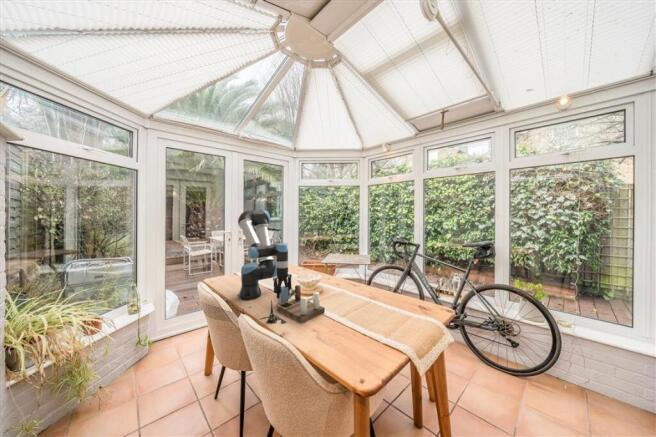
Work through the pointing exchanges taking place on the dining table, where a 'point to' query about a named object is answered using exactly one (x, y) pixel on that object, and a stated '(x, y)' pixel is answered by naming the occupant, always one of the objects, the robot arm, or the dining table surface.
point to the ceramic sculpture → (291, 292)
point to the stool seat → (299, 308)
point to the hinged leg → (305, 300)
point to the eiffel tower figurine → (273, 317)
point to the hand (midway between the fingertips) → (283, 301)
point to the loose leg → (284, 294)
